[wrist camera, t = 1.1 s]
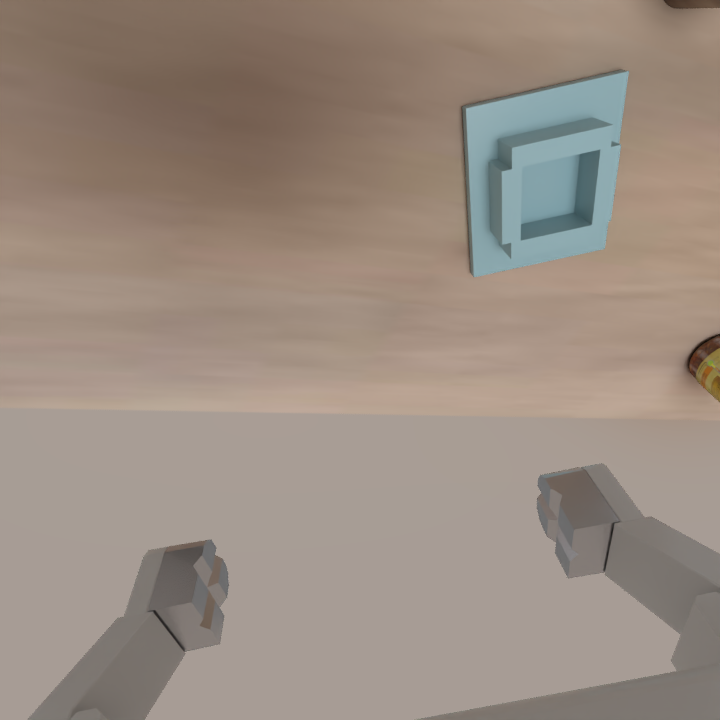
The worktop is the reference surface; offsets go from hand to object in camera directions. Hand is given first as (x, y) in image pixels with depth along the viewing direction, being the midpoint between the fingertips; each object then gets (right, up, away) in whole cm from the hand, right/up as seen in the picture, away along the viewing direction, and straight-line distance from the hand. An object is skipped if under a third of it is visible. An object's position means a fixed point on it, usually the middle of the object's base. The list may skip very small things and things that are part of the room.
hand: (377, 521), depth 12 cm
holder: (+14, +19, +28) cm, 36 cm away
